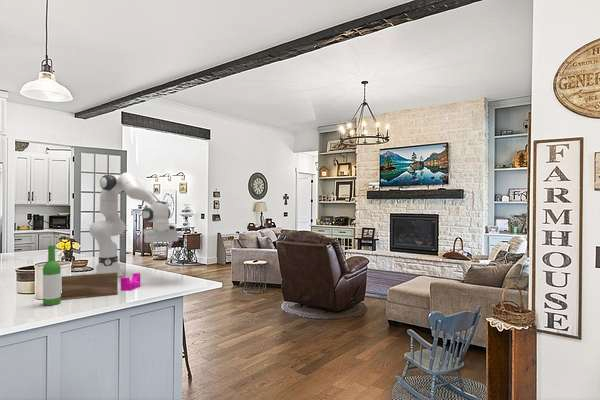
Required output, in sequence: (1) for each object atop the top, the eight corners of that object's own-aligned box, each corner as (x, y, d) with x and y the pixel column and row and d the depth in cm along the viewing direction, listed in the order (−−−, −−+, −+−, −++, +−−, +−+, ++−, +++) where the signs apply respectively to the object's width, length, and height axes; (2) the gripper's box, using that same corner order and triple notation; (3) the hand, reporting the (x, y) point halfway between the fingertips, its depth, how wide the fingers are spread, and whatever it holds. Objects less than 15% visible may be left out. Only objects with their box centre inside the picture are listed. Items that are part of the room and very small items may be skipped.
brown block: (62, 294, 212) (62, 273, 212) (118, 289, 224) (117, 269, 224) (58, 300, 200) (58, 277, 200) (117, 294, 212) (117, 273, 212)
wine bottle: (53, 301, 199) (52, 244, 199) (64, 302, 196) (64, 244, 196) (39, 305, 191) (38, 246, 191) (50, 306, 189) (50, 246, 189)
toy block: (130, 291, 221) (130, 278, 221) (120, 290, 222) (120, 278, 222) (144, 285, 236) (144, 273, 236) (134, 285, 237) (134, 273, 237)
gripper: (143, 228, 228) (143, 251, 228) (178, 226, 237) (179, 248, 237) (143, 227, 234) (143, 250, 234) (177, 226, 242) (178, 247, 242)
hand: (161, 249), depth 235 cm, fingers open, 8 cm apart
